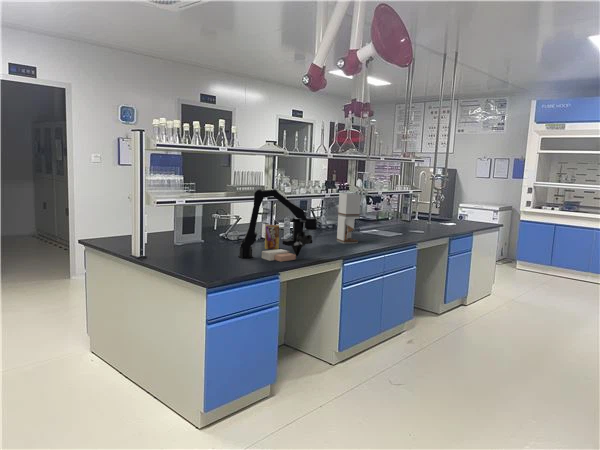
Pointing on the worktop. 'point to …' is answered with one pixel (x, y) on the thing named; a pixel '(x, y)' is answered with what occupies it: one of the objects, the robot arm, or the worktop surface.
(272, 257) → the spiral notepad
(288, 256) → the pink rectangular slab
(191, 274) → the worktop surface
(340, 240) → the tall white box
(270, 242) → the candy box
